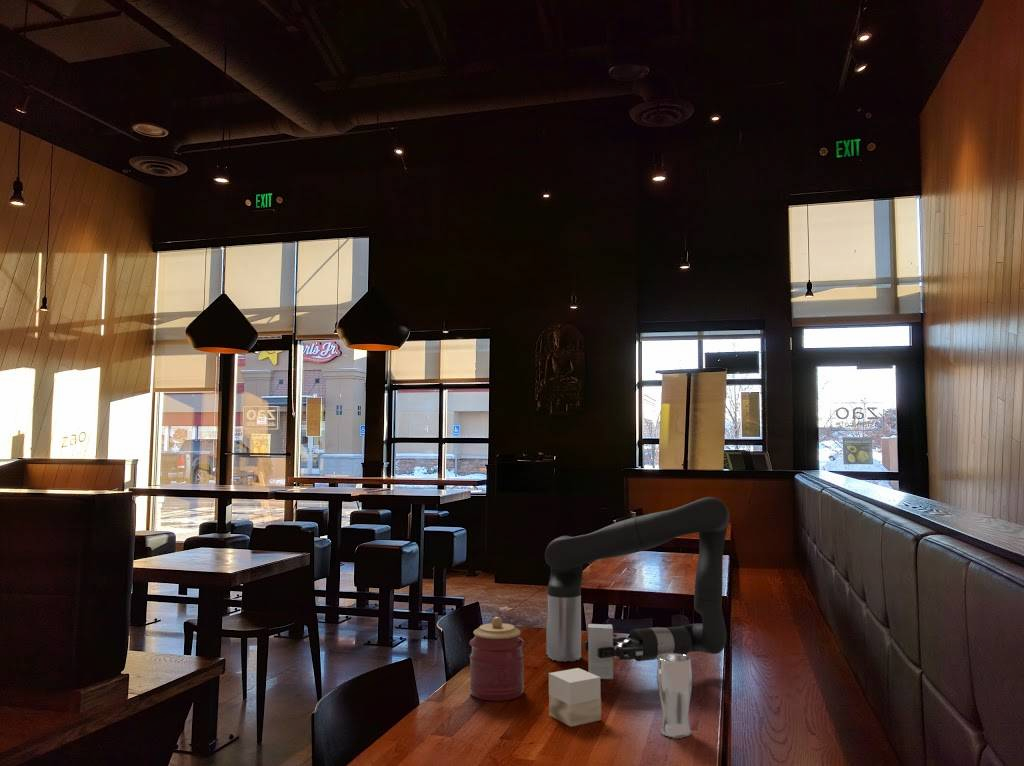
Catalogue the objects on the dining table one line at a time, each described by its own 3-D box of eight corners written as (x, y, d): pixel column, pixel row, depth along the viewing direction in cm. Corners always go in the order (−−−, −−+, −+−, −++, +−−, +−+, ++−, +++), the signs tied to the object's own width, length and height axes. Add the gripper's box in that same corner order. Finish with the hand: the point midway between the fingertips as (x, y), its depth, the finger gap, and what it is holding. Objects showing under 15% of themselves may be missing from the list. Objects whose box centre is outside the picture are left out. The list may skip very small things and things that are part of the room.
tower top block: (548, 694, 164) (548, 673, 164) (578, 688, 168) (578, 667, 168) (570, 705, 157) (569, 682, 157) (600, 698, 161) (600, 677, 161)
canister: (457, 693, 178) (458, 617, 179) (496, 681, 187) (496, 609, 189) (497, 706, 169) (497, 625, 171) (535, 692, 178) (535, 616, 180)
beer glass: (694, 729, 155) (693, 654, 156) (691, 741, 148) (689, 663, 150) (660, 725, 157) (659, 651, 159) (655, 737, 151) (654, 660, 152)
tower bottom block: (549, 716, 163) (549, 694, 164) (578, 709, 167) (578, 688, 168) (570, 727, 156) (570, 705, 157) (601, 720, 160) (601, 698, 161)
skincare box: (612, 674, 183) (612, 624, 184) (613, 679, 179) (613, 628, 180) (587, 673, 184) (587, 623, 185) (587, 678, 179) (587, 627, 181)
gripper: (636, 622, 194) (578, 626, 188) (667, 635, 181) (606, 640, 175) (636, 651, 193) (577, 657, 187) (667, 667, 180) (606, 674, 174)
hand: (591, 649), depth 181 cm, fingers closed on skincare box, 6 cm apart
